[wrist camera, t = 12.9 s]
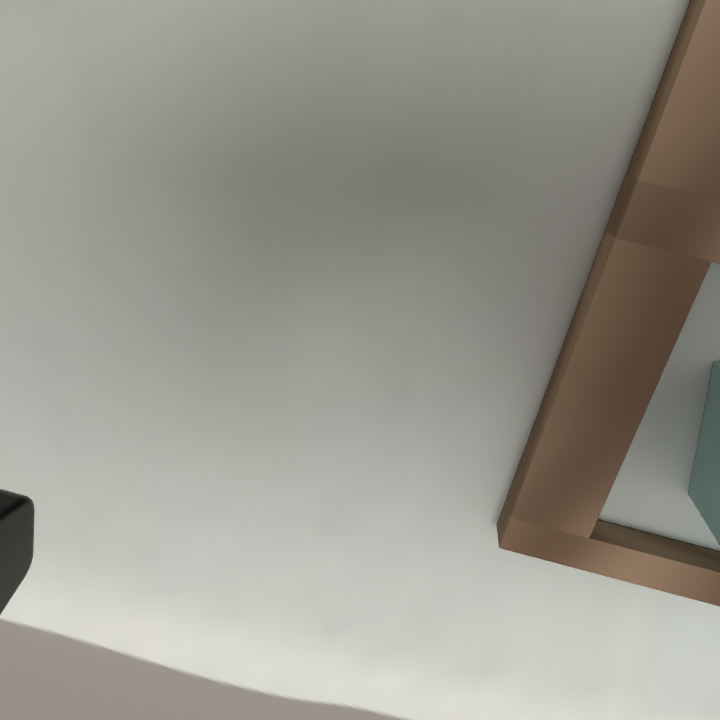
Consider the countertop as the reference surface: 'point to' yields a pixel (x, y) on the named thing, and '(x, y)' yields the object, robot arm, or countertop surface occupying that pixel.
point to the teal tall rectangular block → (709, 459)
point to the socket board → (630, 338)
